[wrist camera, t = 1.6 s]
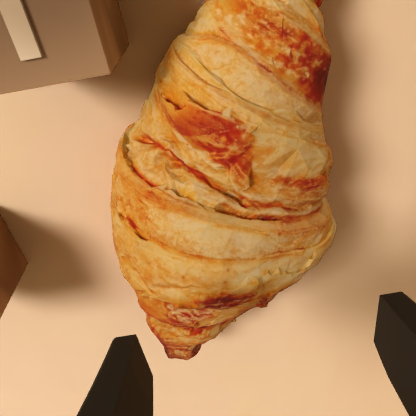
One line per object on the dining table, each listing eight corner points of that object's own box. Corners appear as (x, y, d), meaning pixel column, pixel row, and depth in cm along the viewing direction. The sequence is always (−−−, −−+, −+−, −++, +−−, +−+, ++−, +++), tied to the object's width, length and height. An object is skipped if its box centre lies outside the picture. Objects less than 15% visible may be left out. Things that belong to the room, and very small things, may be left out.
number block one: (129, 44, 15) (109, 75, 11) (32, 61, 15) (-24, 99, 11) (96, -85, 13) (55, -109, 9) (-17, -63, 13) (-112, -75, 9)
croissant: (204, -87, 16) (73, -170, 9) (456, -38, 13) (525, -101, 7) (143, 284, 26) (61, 369, 20) (277, 350, 24) (235, 473, 17)
